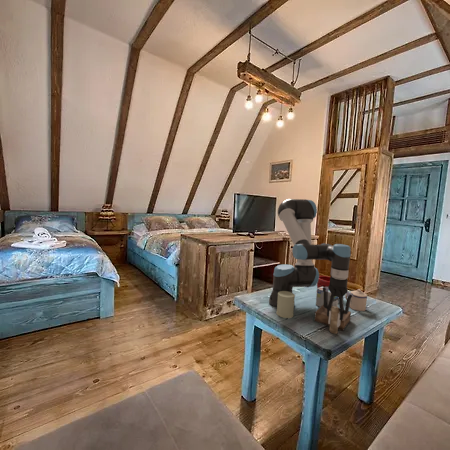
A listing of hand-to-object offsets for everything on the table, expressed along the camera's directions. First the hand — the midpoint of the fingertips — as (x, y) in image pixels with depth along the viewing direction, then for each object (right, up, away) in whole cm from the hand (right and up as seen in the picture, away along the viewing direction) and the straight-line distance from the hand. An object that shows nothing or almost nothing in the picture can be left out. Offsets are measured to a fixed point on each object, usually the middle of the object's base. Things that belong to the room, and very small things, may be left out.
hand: (334, 324), depth 118 cm
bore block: (+4, -3, +12) cm, 13 cm away
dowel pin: (0, -4, 0) cm, 4 cm away
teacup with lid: (+26, -2, +30) cm, 40 cm away
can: (-20, -2, +17) cm, 26 cm away
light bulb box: (+8, -2, +29) cm, 31 cm away
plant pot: (+16, 0, +48) cm, 50 cm away
